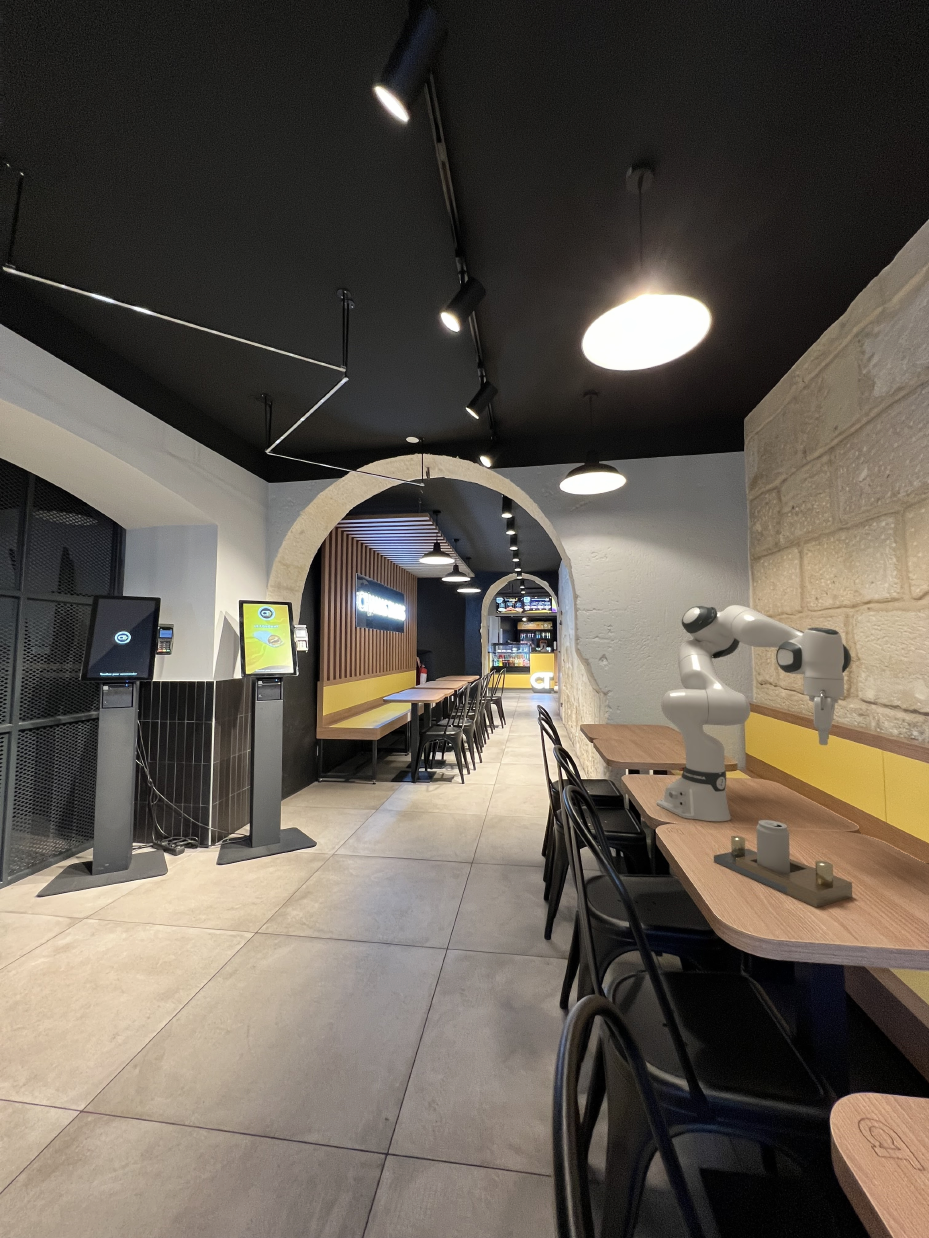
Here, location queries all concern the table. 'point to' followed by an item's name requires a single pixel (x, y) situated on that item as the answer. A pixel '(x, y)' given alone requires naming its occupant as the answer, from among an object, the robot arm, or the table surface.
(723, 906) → the table surface
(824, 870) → the plate with brass posts
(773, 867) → the beverage can
